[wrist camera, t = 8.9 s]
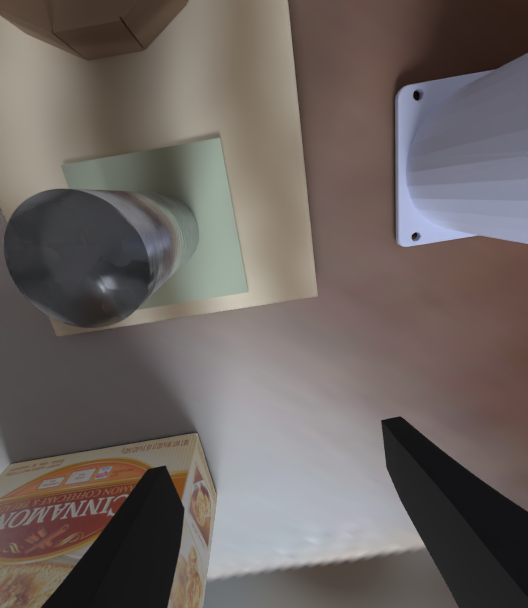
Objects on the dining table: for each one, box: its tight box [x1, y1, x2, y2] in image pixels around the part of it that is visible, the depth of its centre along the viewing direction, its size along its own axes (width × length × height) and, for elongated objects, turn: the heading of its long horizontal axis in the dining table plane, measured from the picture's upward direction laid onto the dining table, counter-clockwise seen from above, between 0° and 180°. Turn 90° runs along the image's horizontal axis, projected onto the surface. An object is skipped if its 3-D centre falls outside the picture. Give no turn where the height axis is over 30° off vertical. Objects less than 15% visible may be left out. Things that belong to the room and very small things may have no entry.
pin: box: [4, 189, 199, 328], centre depth 12 cm, size 4×4×8 cm
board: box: [0, 0, 318, 337], centre depth 13 cm, size 16×24×4 cm, turn 9°
